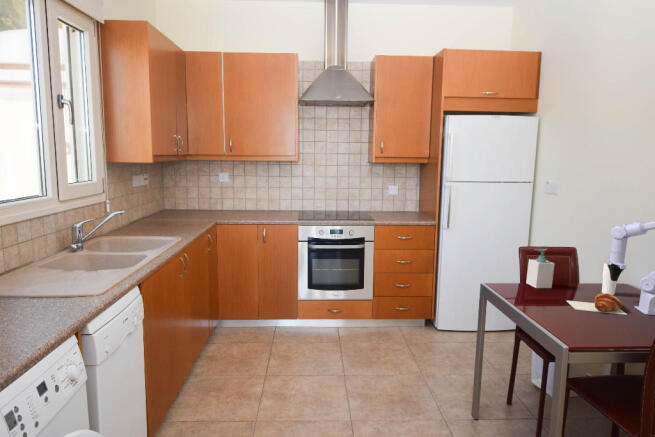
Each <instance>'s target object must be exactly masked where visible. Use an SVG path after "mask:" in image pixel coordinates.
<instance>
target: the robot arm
mask: <svg viewBox="0 0 655 437" xmlns="http://www.w3.org/2000/svg"><path fill="white" fill-rule="evenodd" d="M652 230H655V221H650V222H644V221H639V220H635V221H634V222H632V223H624V224H622V225H616V226H614V227H612V228H611V229H610V235H611V237H612V238H611V239H612V240H611V246H610V253H609V257H606V258H607V259H606V262H608V263H612V264H611V265H607V266H608V268H609V271H610V278H611V280H612V281H617V280H618V279H619V278H620V275H621V274H622V273H623V271H624V270H627V265H626V262H625V260H626V259H625V258H626V252H627V251H626V250H627V245H628V239H629V238H633V237H637V236H642V235H646V234H647V233H648V231H652ZM606 262H605V263H606ZM617 282H618V281H617ZM638 284H639V287H640V288H641V289H640V290H641V291H640V296H639V303H638V304H639V305H638V306H636V305H634V308H635V309H637V311H640V312H641V313H643V314H644V315H650V316H651V315H652V316H655V269H654V270H653V271H652V272H650V273H648V275H647V276H644V277H642V278H641V279H640V280H639V283H638Z"/></svg>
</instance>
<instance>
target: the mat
mask: <svg viewBox="0 0 655 437" xmlns="http://www.w3.org/2000/svg"><path fill="white" fill-rule="evenodd" d="M565 301H566V302H567V303H568V304H569V305H571V307H572V308H574V310H576V311H584V312H585V311H587V312H595V313H596V312H597V313H606V314H616V315H625V316H627V315H628V314H627V313H626V312H625V311H624V310H622V309H621V308H620V309H618V310H615V311H609V312H607V311H601V310H597V309H596V308H595V302H585V301H578V300H577V301H576V300H565Z"/></svg>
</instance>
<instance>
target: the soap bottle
mask: <svg viewBox="0 0 655 437" xmlns="http://www.w3.org/2000/svg"><path fill="white" fill-rule="evenodd" d="M547 250H548V249H547V248H539V249H538V248H534V251H537V252H540V255H539V256H538V257H536V258H528V263H527V273H526V282H525V283H526V284H527V285H529V286H531V287H533V288H535V289H552V288H553V280H554V272H555V271H554V270H555V262H552V261H549V260H547V258H546V255H545V251H547Z"/></svg>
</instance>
